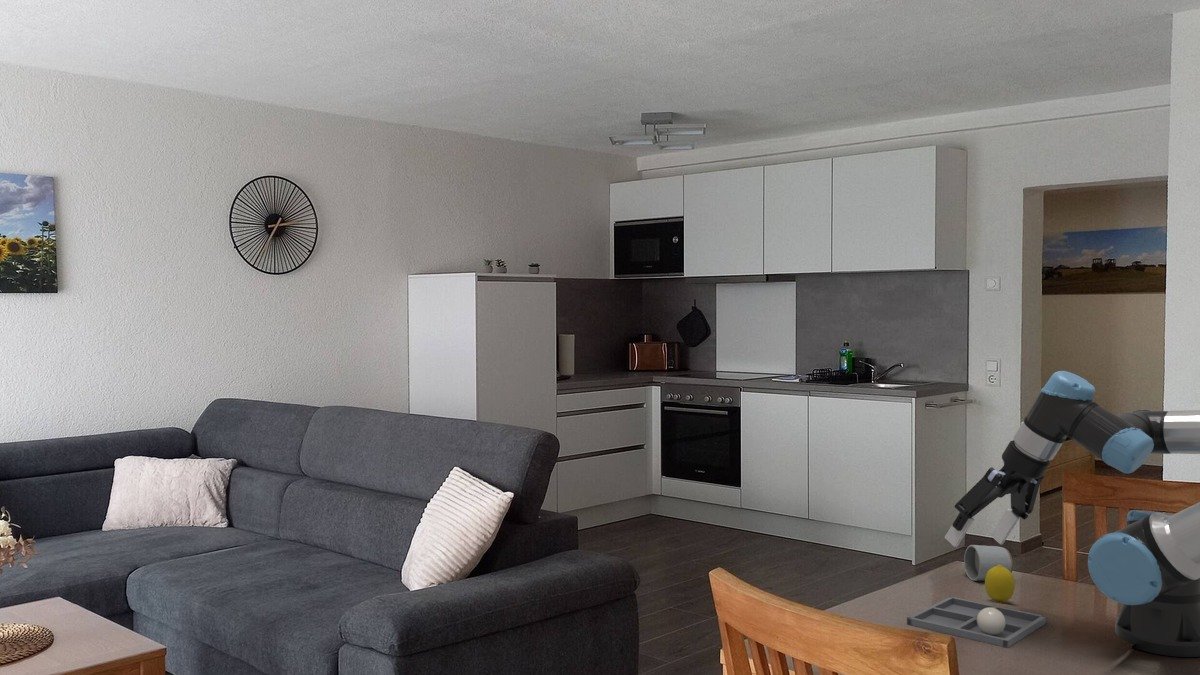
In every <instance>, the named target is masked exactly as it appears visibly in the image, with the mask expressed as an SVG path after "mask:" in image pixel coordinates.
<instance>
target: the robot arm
mask: <svg viewBox="0 0 1200 675" xmlns="http://www.w3.org/2000/svg"><path fill="white" fill-rule="evenodd" d="M1095 394H1096V388H1095V386H1094V385H1093V384H1091V383H1090V382H1089V381H1088V380H1087V379H1085V378H1083V377H1081V376H1079V375H1077V374H1075V373H1073V372H1070V371H1066V370H1059V371H1056V372H1053V373H1052V374H1051V376H1050V377H1049V379H1048V381H1047V382H1046V383H1045V385H1044V386H1043V387H1042V388H1041V389H1040V391H1039V393H1038V396H1037V397H1036V399H1035V400H1034V402H1033V404H1032V406H1031V407H1030V409H1029V411H1028V412H1027V414H1026V416H1025V417H1024V419H1023V420H1022V421H1021V422H1020V424H1019V427H1018V429H1017V430H1016V432H1015V434H1014V435H1013V437H1012V438H1013V440H1010V441H1009V442H1008V444H1007V445H1006V448H1005V449H1004V451H1003V453H1002V454H1001V459H1002V461H1003V466H1002V467H1001V468H1000V469H999V470H997V469H995V468H994V467H989V468H988V470H987V471H986V472H985V474H984V475H983V476H982V477H981V479H979V481H978V482H976V484H974V485H973V487H971V488H970V489H969V491H967V492H966V493H965V494H964V495H963V496H962V497H961V498H960V499H959V500H958V501H957V502H956V503H955V505H954V508H955V509H956V511H958V512H959V513H958V514H957V516H956V518H955V520H953V523H952V525H950V528H949V529H948V531H947V533H946V534H945V535H944V539H945V540H946V541H947V542H948V543H950V544H951V546H953V547H954V548H958V547H959V544H960V543H961V541H962V540H963V538H964V537H965V536H966V534H967V532H968V531H969V529H970V528H971V526H972V524H973V522H974V520H975V519H974V517H975V516H976V515H977V514H979V513H980V512H981V511H982V510H984V509H985V508H986V507H988V506H989V505H990V504H992V503H993V502H994V501H995V500H997V499H998V498H1000V499H1001V498H1003V497H1005V496H1006V495H1010V508H1006V509H1005V511H1004V512H1003V514H1002V515H1001V518H1000V519H999V520H998V522H997V524H996V525H995V527H994V528H993V530H992V531H991V533H990V535H989V536H991V537H992V539H994V540H995V541H996V542H997V543H998V544H999V545H1001V546H1002V545H1004V543H1005V542H1006V540H1007V539H1008V537H1009V535H1010V534H1011V532H1012V531H1013V529H1014V528H1015V526H1016V525H1017V523H1018V521H1019V520H1020V518H1021V519H1022V520H1027V519H1028V518H1029V515H1030V514H1032V513H1033V511H1034V507H1035V503H1036V500H1037V495H1038V492H1039V488H1040V485H1041V483H1042V482H1043V480H1044V478H1045V476H1044V473H1045V472H1046V471H1047V469H1048V468H1049V466H1050V463H1051V462H1050V461H1052V460H1054V458H1055V457H1056V455H1057V453H1058V452H1059V450H1060V449H1061V447H1062V445H1063V444H1064V442H1065V441H1066V440H1067V438H1069V439H1070V440H1072V441H1074V442H1075V443H1076V444H1078V445H1079V446H1080V447H1082V448H1084V449H1085V450H1086V451H1088V452H1090V453H1091V454H1092V455H1094V456H1095V457H1097V458H1098V459H1100V460H1102V461H1103V463H1105V464H1106V465H1107V466H1110V467H1112V468H1114V469H1116V470H1118V471H1119V472H1121V473H1123V474H1132V473H1134V472H1135V471H1137V469H1139V468H1141V466H1142V465H1143V464H1144V463H1145V462H1146V461H1147V459H1148V458H1149V457H1150V455H1151V454H1152V455H1164V454H1165V455H1169V454H1170V455H1171V454H1172V455H1173V454H1175V455H1176V454H1179V455H1181V454H1182V455H1183V454H1184V455H1186V454H1187V455H1200V409H1193V410H1191V409H1190V410H1151V409H1139V410H1138V409H1136V410H1132V411H1130V412H1128V413H1127V412H1126V413H1125V412H1124V413H1121V414H1114V413H1113V412H1111V411H1110V410H1108V409H1106V408H1105V407H1102V406H1101V405H1100V404H1098V403H1097V401H1094V396H1095ZM1126 516H1127V517H1126V520H1125V525H1126V526H1124V527H1123V528H1120V529H1118V530H1116V531H1114V532H1108V533H1106V534H1104V535H1101V536H1100V537H1099V538H1097V540H1096V541H1095V542H1093V545H1091V547H1090V550H1089V552H1088V556H1087V568H1088V572H1089V575H1090V578H1091V580H1092V582H1093V584H1095V586H1096V587H1097V589H1098V590H1099V591H1100V592H1101V593H1102V594H1103V595H1105V596H1106V598H1108V599H1110V600H1111V601H1114V602H1117V603H1118V604H1122V605H1121V607H1120V611H1119V612H1118V615H1117V618H1116V621H1115V624H1114V633H1115V635H1116V636H1117V637H1118V638H1120V639H1122V640H1124V641H1125V642H1126V641H1127V642H1128V643H1131V644H1133V645H1132V646H1131V648H1132V649H1136V650H1139V651H1142V652H1146V653H1149V654H1150V653H1152V654H1156V655H1160V656H1161V655H1162V656H1168V657H1178V658H1179V657H1180V658H1197V657H1200V501H1199V502H1197V503H1194V504H1193V505H1191V506H1189V507H1187V508H1185V509H1183V510H1180V511H1177V512H1176V513H1168V512H1161V511H1153V510H1143V509H1142V510H1139V509H1133V510H1129V511H1128V512H1127V515H1126Z"/></svg>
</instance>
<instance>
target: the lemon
mask: <svg viewBox="0 0 1200 675" xmlns="http://www.w3.org/2000/svg"><path fill="white" fill-rule="evenodd" d="M984 588H985V593H986V594H987V595H988V597H989V598H990V599H991V600H993V601H995V602H996V603H997V604H1001V605H1002V604H1003V603H1004V602H1008V601H1009V600H1010V599H1011V598H1012V597H1013V595H1014V593H1015V588H1016V587H1015V580H1014V576H1013V573H1012V574H1011V572H1010V571H1009V570H1008V569H1006V568H1005V567H1003V566H1002V565H997V566H995V567H993V568H991V569H990V570H989V571H988V572H987V574H986V578H985V581H984Z"/></svg>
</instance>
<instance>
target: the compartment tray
mask: <svg viewBox="0 0 1200 675" xmlns="http://www.w3.org/2000/svg"><path fill="white" fill-rule="evenodd" d="M988 607H992V608H995V609H998V610H999V611H1000V612H1001V613H1002V614H1003V615H1004V617H1005V621H1006V625H1005V628H1004V630H1003V631H1002V632H1001V633H1000V634H998V635H988V634H985V633H984V632H982V631H981V630H980V628H979V627H978V624H977V616H978V613H979V612H980V611H981V610H982V609H984V608H988ZM1047 623H1048V617H1047V615H1042V614H1036V613H1033V612H1028V611H1022V610H1017V609H1013V608H1007V607H1003V606H997V605H994V604H993V605H992V604H988V603H984V602H979V601H973V600H969V599H964V598H959V597H955V596H948V597H947V598H944V599H943V600H940V601H938V602H936V603H934V604H932V605H930V606H928V607H926V608H924V609H922V610H920V611H918V612H916V613H914V614H912V615H910V616H908V617H906V625H909V626H913V627H916V628H921V629H926V630H929V631H933V632H937V633H943V634H947V635H951V636H955V637H959V638H963V639H967V640H972V641H977V642H980V643H984V644H985V643H986V644H989V645H992V646H993V645H994V646H998V647H1002V648H1006V649H1009V648H1010V647H1012V646H1013V645H1015V644H1017V643H1018V642H1020V641H1021V640H1023V639H1024V638H1026V637H1027V636H1029V635H1031V634H1032V633H1034V632H1035V631H1037V630H1038V629H1040V628H1042V627H1043V626H1044V625H1046V624H1047Z"/></svg>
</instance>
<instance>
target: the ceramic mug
mask: <svg viewBox="0 0 1200 675" xmlns="http://www.w3.org/2000/svg"><path fill="white" fill-rule="evenodd" d="M963 564H964V569H965V573H966V577H968V578H969V580H971V581H972V582H982V581H984V582H985V578H986V574H987V572H988V571H989V570H990V569H991V568H993V567H995V566H997V565H1002V566H1003V567H1005V568H1006V569H1008V570H1009V571H1010V572H1011V574H1012V575H1013V571H1014V561H1013V558H1012V554H1011V553H1010V551H1009V550H1008V549H1007V548H1005V547H1002V546H998V545H997V546H996V545H978V544H969V545H968V546H967V548H966V549H965V551H964V557H963Z"/></svg>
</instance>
